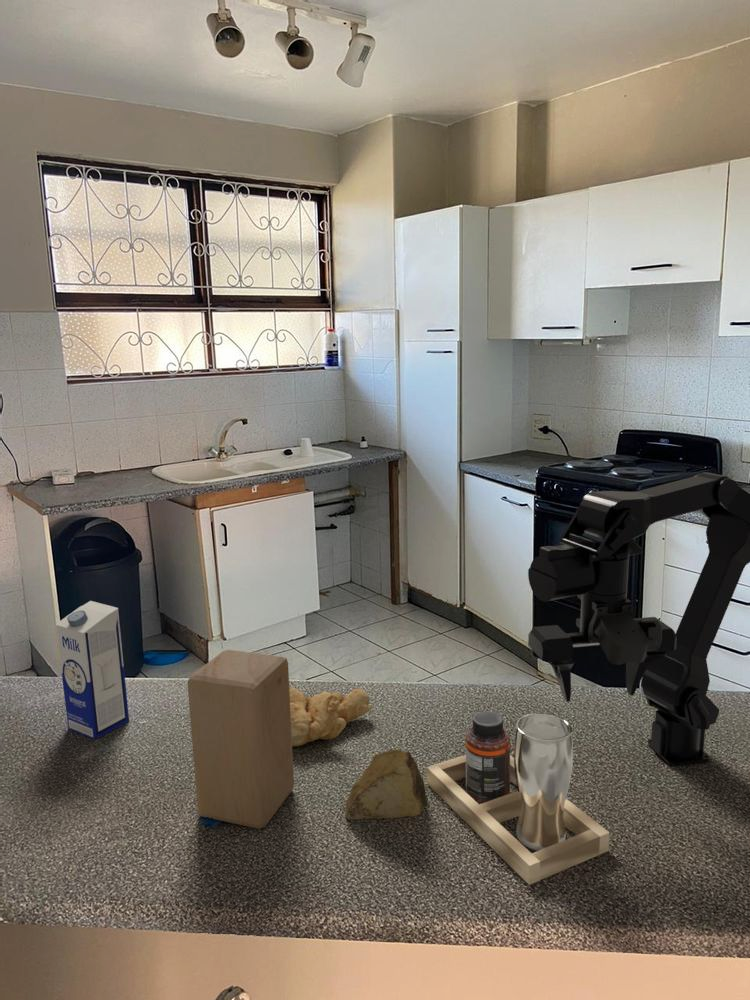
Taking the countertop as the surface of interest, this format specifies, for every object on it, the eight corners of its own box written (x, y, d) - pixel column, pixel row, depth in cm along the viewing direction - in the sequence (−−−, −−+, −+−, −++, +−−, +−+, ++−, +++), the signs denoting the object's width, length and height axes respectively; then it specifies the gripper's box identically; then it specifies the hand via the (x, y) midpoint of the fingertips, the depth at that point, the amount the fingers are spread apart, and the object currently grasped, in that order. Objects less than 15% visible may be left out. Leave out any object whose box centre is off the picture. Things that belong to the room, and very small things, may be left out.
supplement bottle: (494, 776, 105) (495, 703, 103) (518, 799, 100) (520, 723, 98) (457, 787, 103) (457, 712, 101) (480, 811, 98) (480, 733, 95)
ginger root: (240, 742, 113) (245, 689, 113) (288, 717, 128) (292, 670, 128) (334, 764, 108) (340, 709, 108) (372, 735, 123) (377, 687, 123)
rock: (328, 816, 94) (402, 823, 90) (336, 745, 97) (408, 749, 94) (361, 822, 103) (430, 828, 99) (367, 756, 106) (434, 760, 103)
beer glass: (581, 840, 92) (586, 729, 88) (540, 862, 88) (543, 747, 85) (541, 811, 97) (544, 706, 94) (500, 830, 94) (502, 722, 91)
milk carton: (130, 721, 123) (118, 606, 118) (95, 740, 117) (82, 620, 113) (102, 710, 126) (90, 599, 122) (67, 728, 121) (53, 612, 117)
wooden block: (297, 788, 103) (290, 654, 99) (263, 833, 94) (254, 687, 90) (233, 776, 107) (224, 646, 102) (195, 818, 98) (183, 677, 93)
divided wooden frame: (426, 783, 104) (426, 767, 104) (496, 760, 109) (497, 744, 109) (529, 885, 84) (529, 865, 84) (608, 850, 90) (609, 832, 89)
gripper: (562, 615, 89) (557, 734, 92) (705, 604, 92) (696, 719, 95) (528, 586, 100) (525, 693, 103) (657, 576, 103) (650, 681, 106)
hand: (598, 697), depth 101 cm, fingers open, 9 cm apart
